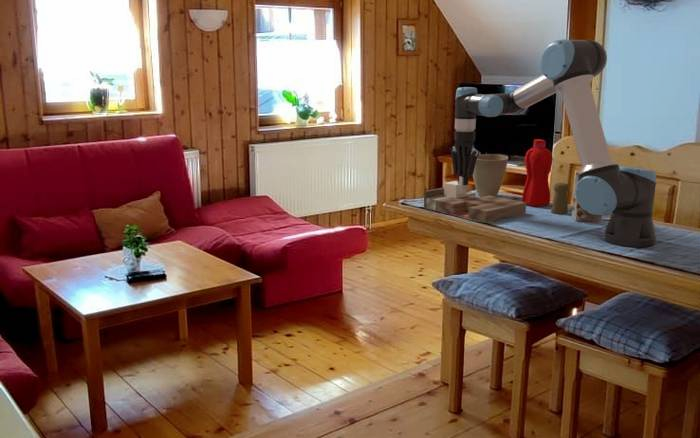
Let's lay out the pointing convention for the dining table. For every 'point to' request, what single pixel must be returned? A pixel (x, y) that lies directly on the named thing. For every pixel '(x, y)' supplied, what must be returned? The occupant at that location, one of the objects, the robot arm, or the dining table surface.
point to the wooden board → (473, 206)
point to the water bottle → (537, 175)
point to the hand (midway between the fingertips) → (462, 193)
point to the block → (452, 190)
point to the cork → (560, 199)
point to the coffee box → (578, 212)
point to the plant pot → (489, 174)
